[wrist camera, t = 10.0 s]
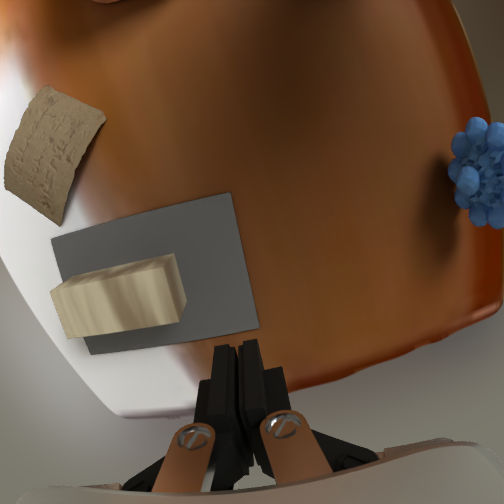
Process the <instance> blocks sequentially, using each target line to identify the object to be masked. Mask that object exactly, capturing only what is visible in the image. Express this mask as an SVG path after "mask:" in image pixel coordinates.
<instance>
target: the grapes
mask: <svg viewBox="0 0 504 504" xmlns="http://www.w3.org/2000/svg"><path fill="white" fill-rule="evenodd" d="M451 149H452V152H453V154H454V155H455V156H456V157H457V158H454V159H452V161H451V162H450V163H449V166H448V175H449V177H450V179H451V180H452V181H453V182H454V183H456V186H457V188H456V191H455V197H454V198H455V202H456V204H457V205H458V206H459V207H460V208H462V209H465V210H466V209H469V208H470V209H469V219H470V221H471V222H472V223H473V224H474V225H475V226H478V227H481V226H485V225H486V224H487V222H488V223H489V225H490V226H491V227H492V228H495V229H501V228H503V227H504V124H502V123H498V122H494V123H492V124H490V125H489V126H488V125H487V123H486V122H485V121H484V120H483V119H482V118H478V117H473V118H471V119H469V121H468V122H467V124H466V127H465V133H464V132H459V133H457V134H455V136H454V137H453V139H452V143H451Z"/></svg>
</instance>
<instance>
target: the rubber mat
mask: <svg viewBox="0 0 504 504" xmlns="http://www.w3.org/2000/svg"><path fill="white" fill-rule="evenodd" d="M51 242H52V246H53V250H54V253H55V257H56V260H57V264H58V267H59V270H60V274H61V277H62V280H63V282H64V281H66V280H68V279H69V278H71V277H72V276H76V275H80V274H85V273H89V272H93V271H98V270H102V269H106V268H111V267H115V266H119V265H124V264H128V263H133V262H137V261H142V260H146V259H150V258H155V257H159V256H164V255H168V254H173V253H174V255H175V259H176V262H177V266H178V270H179V274H180V277H181V281H182V285H183V288H184V292H185V295H186V299H187V302H186V305H185V308H184V310H183V313H182V316H181V319H180V321H179V322H176V323H170V324H164V325H159V326H153V327H146V328H140V329H134V330H128V331H121V332H114V333H108V334H101V335H93V336H86V337H84V340H85V342H86V345H87V347H88V349H89V352H90V354H91V355H94V354H103V353H111V352H119V351H127V350H135V349H142V348H149V347H156V346H163V345H169V344H175V343H182V342H188V341H194V340H199V339H205V338H211V337H216V336H222V335H227V334H232V333H237V332H242V331H247V330H252V329H257V328H260V326H259V322H258V317H257V313H256V308H255V304H254V299H253V294H252V290H251V285H250V281H249V276H248V272H247V267H246V262H245V258H244V253H243V249H242V244H241V239H240V235H239V230H238V225H237V221H236V216H235V211H234V207H233V202H232V197H231V192H228V193H224V194H219V195H215V196H210V197H206V198H201V199H197V200H193V201H188V202H184V203H180V204H176V205H172V206H168V207H164V208H160V209H156V210H152V211H148V212H144V213H140V214H136V215H132V216H129V217H125V218H121V219H117V220H114V221H110V222H107V223H103V224H99V225H96V226H92V227H89V228H85V229H82V230H79V231H75V232H72V233H69V234H65V235H62V236H59V237H55V238H52V239H51Z"/></svg>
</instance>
